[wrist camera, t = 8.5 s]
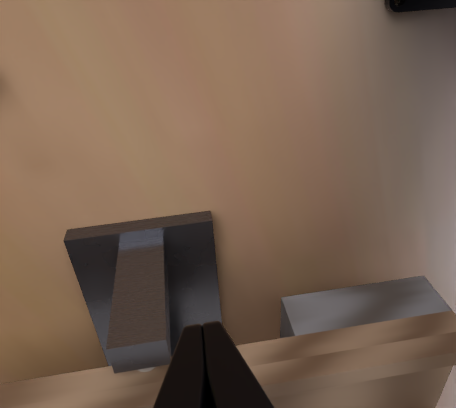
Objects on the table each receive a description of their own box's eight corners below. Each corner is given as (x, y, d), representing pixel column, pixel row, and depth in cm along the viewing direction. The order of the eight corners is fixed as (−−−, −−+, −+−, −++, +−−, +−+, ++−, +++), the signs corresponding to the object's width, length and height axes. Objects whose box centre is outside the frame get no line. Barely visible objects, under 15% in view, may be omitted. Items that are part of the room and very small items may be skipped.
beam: (425, 268, 21) (486, 340, 17) (395, 369, 26) (437, 443, 22) (-177, 359, 18) (-269, 470, 14) (-84, 454, 23) (-133, 555, 19)
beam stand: (210, 210, 23) (233, 318, 16) (224, 361, 30) (244, 476, 23) (67, 229, 22) (28, 352, 15) (118, 379, 29) (108, 504, 23)
